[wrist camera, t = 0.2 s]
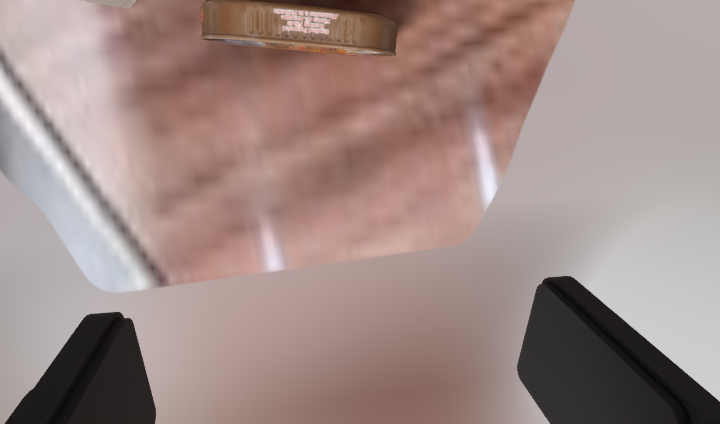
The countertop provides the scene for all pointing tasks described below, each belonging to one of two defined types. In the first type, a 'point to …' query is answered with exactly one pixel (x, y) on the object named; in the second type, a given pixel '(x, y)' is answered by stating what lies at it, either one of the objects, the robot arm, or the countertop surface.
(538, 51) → the countertop surface
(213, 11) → the tin
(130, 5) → the post box
